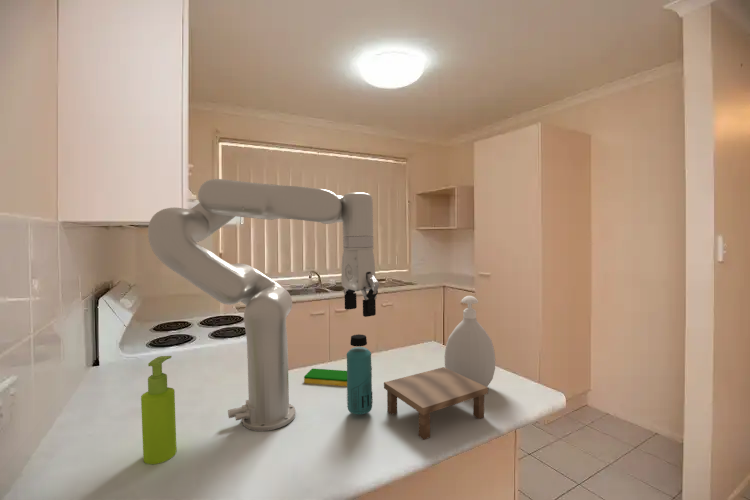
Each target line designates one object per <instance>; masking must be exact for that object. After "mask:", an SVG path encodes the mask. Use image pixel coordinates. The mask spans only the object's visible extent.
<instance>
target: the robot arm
mask: <svg viewBox="0 0 750 500" xmlns="http://www.w3.org/2000/svg"><path fill="white" fill-rule="evenodd" d="M197 198H198V201H199V202H198V203H197V204H196V205H194V206H193V207H192V208H190V209H188V208H183V207H167V208H163V209H161V210H159V211H157V212H156V213H155V214H153V216H151V219H150V220H149V223H148V225H147V226H148V227H147V237H148V243H149V246H150V249H151V250H152V252H153V254H154V255H155V257H157V259H158V260H159V261H160V262H161V263H162V264H164V265H165V266H166V267H167V268H168V269H170V270H171V271H173V272H175V273H176V274H177V275H179V276H180V277H183V279H185V280H187V281H188V282H190V283H191V284H193V285H194V286H195V287H197V288H198V289H199V290H201V291H203V292H204V293H206V294H207V295H209V296H210V297H212V298H213V299H215V300H216V301H217V302H219V303H221V304H224V305H229V306H230V305H235V304H238V303H240V302H241V303H242V304H243V305H245V308H244V310H243V311H244V312H243V323H244V328H245V329H244V331H245V336H246V337H245V338H246V351H247V356H246V357H247V382H248V383H247V386H248V391H247V392H248V399H245V404H242V405H241V406H240V407H235V408H229V409H227V417H228V419H232V418H235V419H234V420H235V421H239V420H242V424H243V426H244V427H245V428H247V429H248V430H251V431H257V432H258V431H259V432H262V431H263V432H264V431H265V432H267V431H272V430H277V429H280V428H283V427H284V426H286V425H288V424H290V423H292V421H293V420H294V419H295V418H296V409H295V406H294V405H292V404H291V403H290V394H289V393H290V390H289V389H290V387H289V386H290V385H289V383H290V382H289V352H288V351H289V350H288V332H287V317H288V316H289V314H290V313H291V311H292V308H293V299H292V296H291V293H290V292H289V291H288V290H287V289H286V288H284V286H282V285H280V284H279V283H278V282H276V281H274V280H273V279H271V278H270V277H268V276H267V275H265V274H264V273H262V272H261V271H260V270H259V269H257V268H255V267H253V266H251V265H249V264H246V263H229V262H227V261H226V260H225V259H224V258H223V259H222V258H221V257H220V256H218V255H217V254H216V253H214V252H213V251H211V250H209V249H208V248H206V247H203V246H202V245H200V244H199V242H202V241H204V240H206V239H207V238H209V237H210V236H211V235H213V234H214V233H215V232H217V231H218V230H220V229H221V228H222V227H224V226H225V225H226V224H227V223H229V222H230V221H232V220H233V219H234V218H237V217H239V218H249V219H257V220H267V221H268V220H269V221H272V220H278V219H279V220H281V219H282V220H283V219H285V220H296V221H305V222H315V223H321V224H325V225H330V224H331V225H332V224H336V223H342V250H343V251H342V256H341V257H342V258H341V277H340V278H341V286H342V288H343V294H344V309H345V310H346V311H348V310H355V309H357V293H356V292H360V291H361V293H362V297H363V299H362V316H363V317H364V318H369V317H373V316H376V315H377V313H376V312H377V311H376V308H377V307H376V305H377V304H376V302H377V301H376V299H377V294H379V293H378V291H379V286H380V282H379V281H378V279H377V278H376V265H375V264H376V263H375V255H374V248H375V247H374V211H373V210H374V206H373V204H374V203H373V200H374V199H373V196H372V195H371V194H370V193H366V192H349V193H345V194H344V195H337V194H336V193H335V192H333V191H331V190H328V189H323V188H316V187H315V188H314V187H306V186H296V185H295V186H294V185H282V184H281V185H280V184H269V183H260V182H259V183H257V182H250V181H241V180H232V179H222V178H214V179H209V180H206V181H205V182H203V183H202V184H201V185H200V187H199V189H198V191H197Z"/></svg>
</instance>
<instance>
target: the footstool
mask: <svg viewBox="0 0 750 500" xmlns="http://www.w3.org/2000/svg"><path fill="white" fill-rule="evenodd" d="M383 388H384V389H385V391H386V393H387V395H386V397H387V398H386V399H387V400H386V402H387V403H386V404H387V409H386V410H387V413H388V414H390V415H394V414H397V413H398V399H399V400H400V401H402V402H403V403H405V404H406V405H407V406H410V407H411V408H412V409H414V410H415V411H417V412H418V437H419V438H420V439H422V440H427V439H429V438H431V413H433V412H436V411H439V410H443V409H445V408H448V407H452V406H454V405H457V404H460V403H464V402H466V401H469V400H472V399H473V403H472V404H473V405H472V406H473V407H472V408H473V410H472V411H473V412H472V413H473V417H475V418H477V419H478V420H480V419H483V418H485V395H488V394H489V387H488V386H487V387H486V386H484V385H481V384H479V383H477V382H475V381H473V380H471V379H468V378H466V377H464V376H462V375H460V374H458V373H456V372H453V371H451V370H449V369H447V368H445V366H444V367H438V368H435V369H431V370H428V371H423V372H419V373H415V374H412V375H407V376H404V377H400V378H396V379H393V380H389V381H384V382H383Z"/></svg>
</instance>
